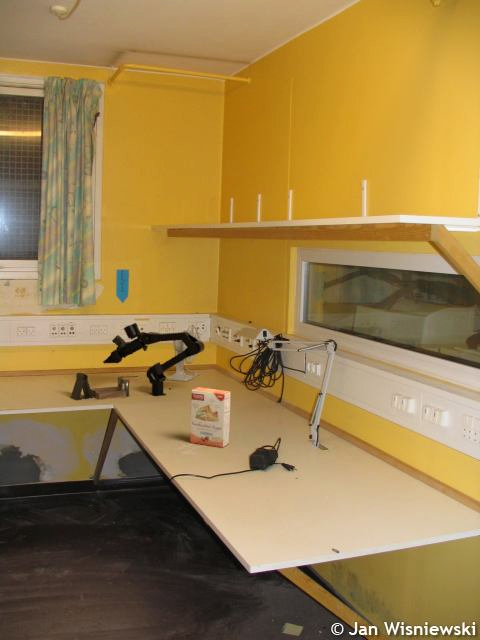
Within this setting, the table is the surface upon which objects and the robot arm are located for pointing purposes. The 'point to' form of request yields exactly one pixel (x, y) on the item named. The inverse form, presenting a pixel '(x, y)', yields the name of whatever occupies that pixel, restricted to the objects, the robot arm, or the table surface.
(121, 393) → the cradle
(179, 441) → the table surface
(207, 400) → the cracker box
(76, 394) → the phone stand
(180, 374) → the pale grey desk fan
